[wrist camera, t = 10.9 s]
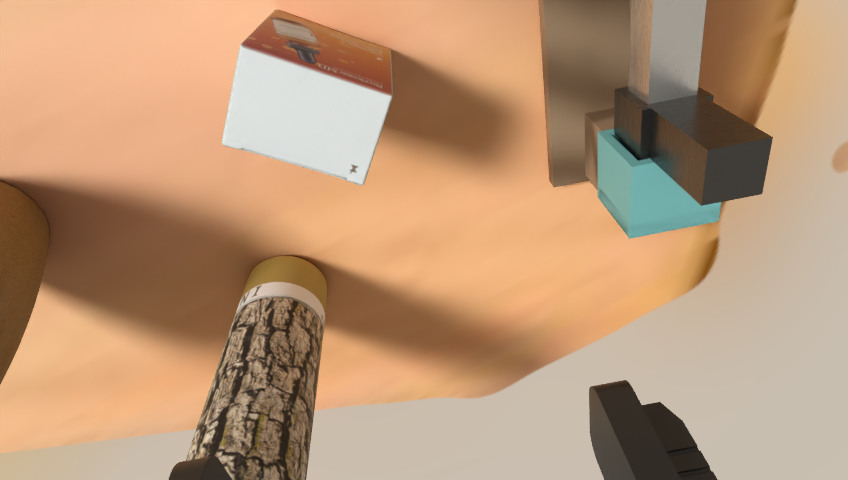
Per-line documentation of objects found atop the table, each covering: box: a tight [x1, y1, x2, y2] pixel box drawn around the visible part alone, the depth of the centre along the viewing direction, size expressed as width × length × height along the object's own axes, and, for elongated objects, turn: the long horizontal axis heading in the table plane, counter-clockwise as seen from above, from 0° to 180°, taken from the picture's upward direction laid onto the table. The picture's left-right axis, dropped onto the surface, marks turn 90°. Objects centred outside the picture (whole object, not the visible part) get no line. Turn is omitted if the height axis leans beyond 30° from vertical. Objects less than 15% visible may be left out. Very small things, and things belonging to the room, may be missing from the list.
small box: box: [222, 10, 393, 186], centre depth 32 cm, size 8×6×10 cm
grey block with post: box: [614, 0, 773, 206], centre depth 27 cm, size 19×4×10 cm, turn 11°
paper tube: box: [186, 256, 328, 480], centre depth 35 cm, size 7×7×25 cm
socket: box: [598, 129, 721, 239], centre depth 34 cm, size 5×6×6 cm
